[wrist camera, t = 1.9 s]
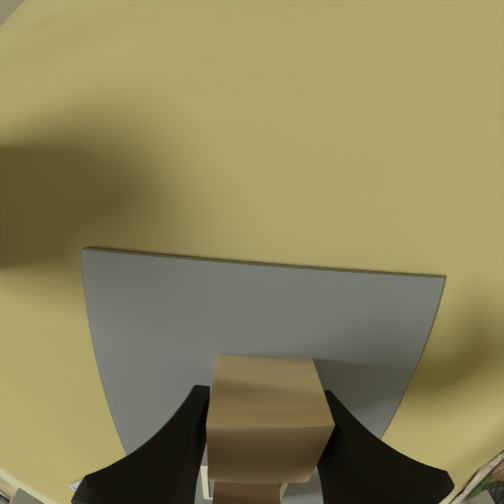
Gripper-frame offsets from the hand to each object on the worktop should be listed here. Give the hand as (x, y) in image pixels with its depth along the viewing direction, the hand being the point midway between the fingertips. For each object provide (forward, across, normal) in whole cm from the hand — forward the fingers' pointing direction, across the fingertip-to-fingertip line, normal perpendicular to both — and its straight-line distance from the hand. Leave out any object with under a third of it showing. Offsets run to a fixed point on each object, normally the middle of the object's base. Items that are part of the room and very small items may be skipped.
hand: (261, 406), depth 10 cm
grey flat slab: (+1, 0, +5) cm, 5 cm away
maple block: (+1, 0, 0) cm, 1 cm away
